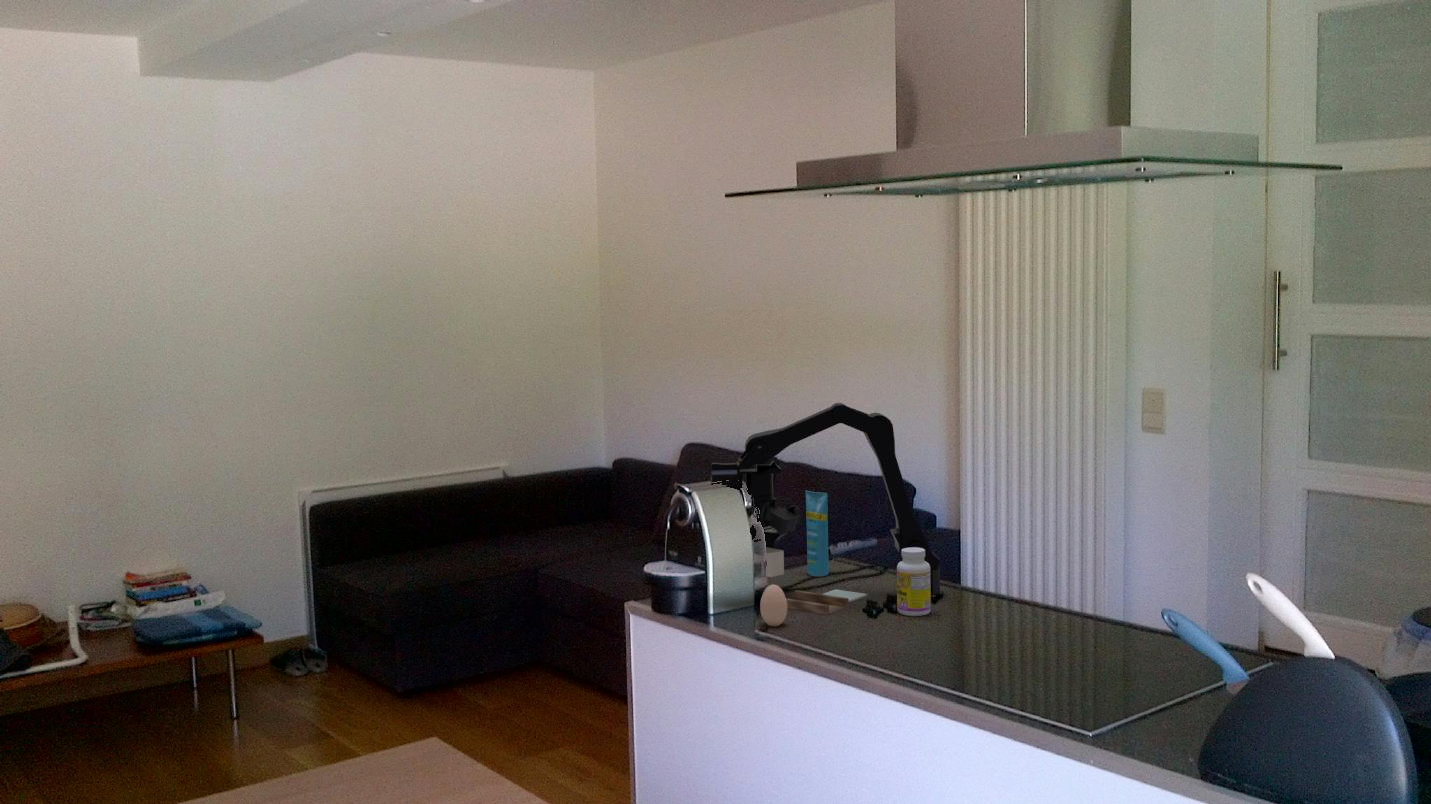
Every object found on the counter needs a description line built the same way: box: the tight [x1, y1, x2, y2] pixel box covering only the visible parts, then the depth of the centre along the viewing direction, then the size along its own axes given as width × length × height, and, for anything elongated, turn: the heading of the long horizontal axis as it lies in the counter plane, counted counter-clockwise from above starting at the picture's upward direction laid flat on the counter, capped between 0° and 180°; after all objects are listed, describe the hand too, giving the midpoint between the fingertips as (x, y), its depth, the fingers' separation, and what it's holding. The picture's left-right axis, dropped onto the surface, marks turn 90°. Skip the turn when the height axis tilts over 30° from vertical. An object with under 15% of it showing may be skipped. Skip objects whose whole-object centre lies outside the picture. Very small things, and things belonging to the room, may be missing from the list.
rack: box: [786, 589, 850, 616], centre depth 259 cm, size 13×8×2 cm, turn 50°
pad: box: [822, 588, 868, 603], centre depth 266 cm, size 8×8×1 cm
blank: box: [764, 547, 785, 578], centre depth 265 cm, size 6×4×5 cm, turn 41°
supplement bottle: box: [896, 547, 932, 617], centre depth 252 cm, size 7×7×13 cm
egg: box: [759, 584, 788, 627], centre depth 245 cm, size 5×5×8 cm
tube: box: [805, 490, 830, 577], centre depth 289 cm, size 7×5×19 cm, turn 43°
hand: (761, 567), depth 266 cm, fingers closed on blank, 4 cm apart
